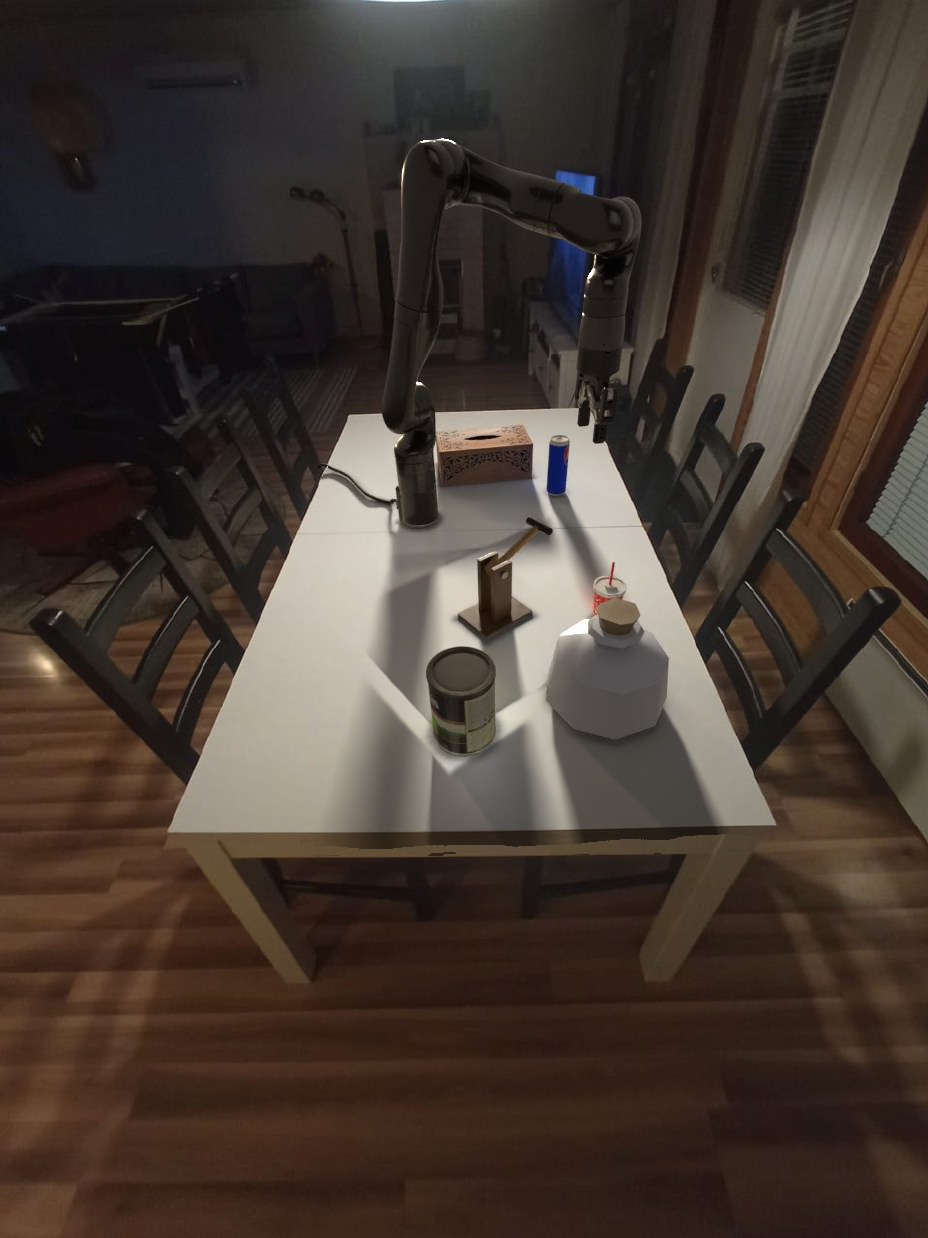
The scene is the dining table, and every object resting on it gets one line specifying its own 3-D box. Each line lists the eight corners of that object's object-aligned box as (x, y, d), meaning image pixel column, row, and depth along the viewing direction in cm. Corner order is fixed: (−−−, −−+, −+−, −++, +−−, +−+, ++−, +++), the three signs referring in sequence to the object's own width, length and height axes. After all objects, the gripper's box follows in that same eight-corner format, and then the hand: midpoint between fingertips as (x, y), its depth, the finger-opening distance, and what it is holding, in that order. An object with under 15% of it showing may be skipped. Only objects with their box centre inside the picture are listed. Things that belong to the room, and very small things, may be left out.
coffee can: (434, 760, 86) (427, 699, 77) (431, 709, 94) (424, 648, 85) (500, 754, 87) (500, 692, 78) (492, 704, 95) (491, 642, 86)
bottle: (671, 751, 86) (699, 664, 74) (542, 737, 89) (549, 650, 77) (659, 661, 101) (681, 576, 89) (550, 651, 104) (556, 568, 92)
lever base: (503, 595, 118) (503, 539, 109) (532, 616, 112) (535, 558, 103) (457, 618, 112) (454, 561, 104) (485, 641, 107) (484, 583, 98)
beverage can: (564, 497, 149) (569, 442, 140) (545, 495, 150) (548, 442, 141) (566, 488, 153) (570, 434, 144) (547, 487, 154) (550, 434, 144)
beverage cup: (601, 635, 107) (611, 576, 98) (582, 618, 111) (589, 559, 102) (626, 625, 109) (638, 566, 100) (606, 608, 113) (616, 549, 104)
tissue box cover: (522, 456, 170) (522, 424, 163) (531, 477, 159) (533, 443, 152) (437, 464, 168) (435, 431, 162) (441, 485, 157) (439, 451, 151)
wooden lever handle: (533, 521, 109) (529, 512, 107) (554, 533, 105) (551, 525, 103) (481, 570, 107) (477, 562, 105) (501, 584, 103) (497, 576, 101)
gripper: (566, 334, 101) (560, 422, 112) (594, 355, 90) (584, 451, 101) (606, 330, 102) (596, 418, 113) (638, 351, 91) (623, 446, 102)
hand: (590, 434), depth 107 cm, fingers open, 8 cm apart
